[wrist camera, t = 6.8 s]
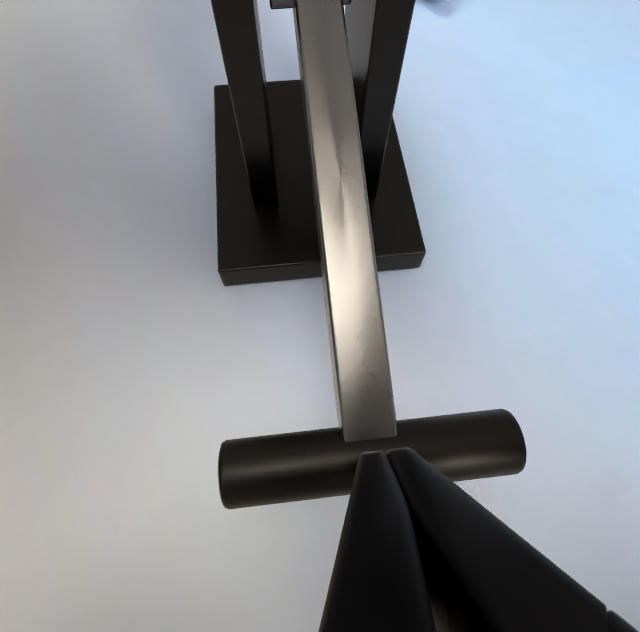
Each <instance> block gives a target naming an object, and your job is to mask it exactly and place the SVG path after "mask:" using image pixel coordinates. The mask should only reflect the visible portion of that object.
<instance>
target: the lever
mask: <svg viewBox="0 0 640 632" xmlns="http://www.w3.org/2000/svg"><path fill="white" fill-rule="evenodd" d="M351 1H352V0H270V7H271V9H284V8H293V14H294V23H295V32H296V42H297V51H298V60H299V69H300V78H301V87H302V96H303V106H304V115H305V124H306V133H307V142H308V151H309V160H310V169H311V179H312V188H313V197H314V206H315V215H316V224H317V233H318V243H319V252H320V261H321V270H322V279H323V288H324V297H325V307H326V316H327V325H328V334H329V343H330V352H331V361H332V371H333V380H334V389H335V398H336V407H337V416H338V425H339V427H337V428H328V429H320V430H311V431H302V432H293V433H285V434H276V435H267V436H258V437H250V438H241V439H232V440H226V441H224V442H223V443H222V445H221V448H220V452H219V459H218V482H219V491H220V496H221V500H222V503H223V505H224V507H225V508H227V509H236V508H244V507H252V506H260V505H269V504H277V503H285V502H293V501H301V500H309V499H317V498H326V497H334V496H342V495H350V494H351V490H352V486H353V482H354V477H355V473H356V469H357V464H358V460H359V456H360V454H361V453H363V452H371V451H380V450H381V451H384V452H385V453H386V451H387V450H389V449H397V448H405V447H407V448H411V449H412V450H414V451H415V452H416V453H417V454H419V455H420V456H421V457H422V458H424V459H425V460H426V461H427V462H429V463H430V464H431V465H432V466H434V467H435V468H436V469H437V470H439V471H440V472H441V473H442V474H444V475H445V476H446V477H447V478H448V479H450V480H451V481H452V482H456V481H464V480H472V479H480V478H489V477H497V476H505V475H513V474H518V473H519V472H521V471H522V470H523V469H524V467H525V463H526V446H525V441H524V437H523V434H522V431H521V428H520V426H519V424H518V422H517V420H516V419H515V417H514V416H513V415H512V414H511V413H510V412H509V411H507V410H503V409H495V410H486V411H477V412H469V413H460V414H451V415H442V416H434V417H425V418H416V419H407V420H399V421H396V414H395V407H394V399H393V391H392V383H391V375H390V367H389V360H388V352H387V344H386V336H385V328H384V320H383V313H382V305H381V297H380V289H379V281H378V273H377V266H376V258H375V250H374V242H373V234H372V226H371V219H370V211H369V203H368V195H367V187H366V179H365V172H364V164H363V156H362V148H361V140H360V132H359V125H358V117H357V109H356V101H355V93H354V85H353V78H352V70H351V62H350V54H349V46H348V38H347V31H346V23H345V15H344V7H343V5H349V4H351Z"/></svg>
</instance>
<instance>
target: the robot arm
mask: <svg viewBox="0 0 640 632" xmlns="http://www.w3.org/2000/svg"><path fill="white" fill-rule="evenodd" d="M319 632H639V631H637V630H636V629H635V628H634V627H632V626H631V625H630V624H629V623H627V622H626V621H625V620H624V619H622V618H621V617H620V616H619V615H617V614H616V613H615V612H614V611H612V610H609V611H607V609H606V606H605V604H603V603H602V602H601V601H600V600H599V599H597V598H596V597H595V596H594V595H592V594H591V593H590V592H589V591H587V590H586V589H585V588H584V587H582V586H581V585H580V584H579V583H577V582H576V581H575V580H574V579H572V578H571V577H570V576H569V575H568V574H566V573H565V572H564V571H563V570H561V569H560V568H559V567H558V566H556V565H555V564H554V563H553V562H551V561H550V560H549V559H548V558H546V557H545V556H544V555H543V554H541V553H540V552H539V551H538V550H537V549H535V548H534V547H533V546H532V545H530V544H529V543H528V542H527V541H525V540H524V539H523V538H522V537H520V536H519V535H518V534H517V533H515V532H514V531H513V530H512V529H510V528H509V527H508V526H507V525H506V524H504V523H503V522H502V521H501V520H499V519H498V518H497V517H496V516H494V515H493V514H492V513H491V512H489V511H488V510H487V509H486V508H484V507H483V506H482V505H481V504H479V503H478V502H477V501H476V500H475V499H473V498H472V497H471V496H470V495H468V494H467V493H466V492H465V491H463V490H462V489H461V488H460V487H458V486H457V485H456V484H455V483H453V482H452V481H451V480H450V479H448V478H447V477H446V476H445V475H444V474H442V473H441V472H440V471H439V470H437V469H436V468H435V467H434V466H432V465H431V464H430V463H429V462H427V461H426V460H425V459H424V458H422V457H421V456H420V455H419V454H417V453H416V452H415V451H414V450H412V449H411V448H407V447H405V448H397V449H389V450H387V451H386V453H385V452H384V451H381V450H380V451H371V452H363V453H361V454H360V456H359V460H358V464H357V469H356V473H355V477H354V482H353V486H352V490H351V495H350V499H349V503H348V508H347V512H346V516H345V520H344V525H343V529H342V533H341V538H340V542H339V546H338V551H337V555H336V559H335V564H334V568H333V572H332V576H331V581H330V585H329V589H328V594H327V598H326V602H325V607H324V611H323V615H322V620H321V624H320V628H319Z"/></svg>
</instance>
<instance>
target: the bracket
mask: <svg viewBox="0 0 640 632" xmlns="http://www.w3.org/2000/svg"><path fill="white" fill-rule="evenodd" d="M211 4H212V8H213V13H214V18H215V23H216V27H217V32H218V37H219V42H220V47H221V51H222V56H223V61H224V66H225V71H226V75H227V80H228V85H217V86H214V106H215V152H216V198H217V243H218V272H219V274H220V277H221V279H222V281H223V284H224V285H237V284H247V283H258V282H269V281H279V280H290V279H300V278H311V277H321V276H322V270H321V261H320V252H319V243H318V233H317V224H316V215H315V206H314V197H313V188H312V179H311V169H310V160H309V151H308V142H307V133H306V124H305V115H304V106H303V96H302V87H301V80H288V81H274V82H266V76H265V67H264V59H263V50H262V42H261V33H260V25H259V16H258V8H257V0H211ZM414 4H415V0H352V1H351V4H349V5H346V8H345V23H346V31H347V38H348V46H349V54H350V62H351V70H352V78H353V85H354V93H355V101H356V109H357V117H358V125H359V132H360V140H361V148H362V156H363V164H364V172H365V179H366V187H367V195H368V203H369V211H370V219H371V226H372V234H373V242H374V250H375V258H376V266H377V271H385V270H395V269H406V268H416V267H419V266H420V264H421V262H422V260H423V258H424V255H425V253H426V250H425V246H424V242H423V238H422V234H421V230H420V226H419V222H418V218H417V214H416V210H415V206H414V201H413V197H412V193H411V189H410V185H409V181H408V177H407V173H406V169H405V165H404V161H403V157H402V152H401V148H400V144H399V140H398V136H397V132H396V128H395V124H394V120H393V116H392V114H393V109H394V104H395V99H396V94H397V89H398V84H399V79H400V74H401V69H402V64H403V59H404V54H405V49H406V44H407V39H408V34H409V29H410V24H411V19H412V14H413V9H414Z"/></svg>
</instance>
